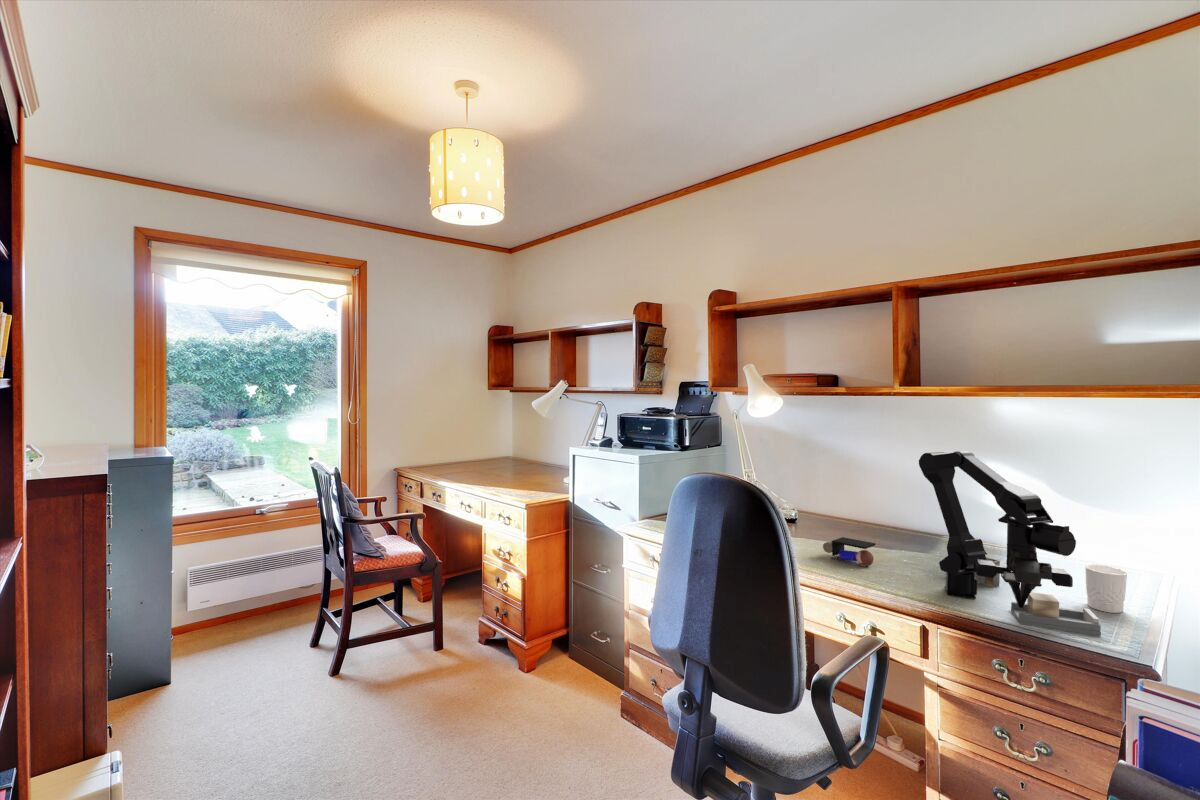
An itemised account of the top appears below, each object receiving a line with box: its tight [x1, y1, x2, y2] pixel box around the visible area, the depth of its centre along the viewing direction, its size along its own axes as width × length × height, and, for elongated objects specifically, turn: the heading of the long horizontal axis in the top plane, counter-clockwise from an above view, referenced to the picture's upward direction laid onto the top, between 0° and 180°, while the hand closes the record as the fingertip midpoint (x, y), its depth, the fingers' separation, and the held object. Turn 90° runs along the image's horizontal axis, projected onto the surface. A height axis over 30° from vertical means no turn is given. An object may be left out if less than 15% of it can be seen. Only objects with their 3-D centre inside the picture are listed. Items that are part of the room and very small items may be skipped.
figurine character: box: [822, 536, 876, 567], centre depth 180 cm, size 7×8×15 cm
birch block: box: [1026, 591, 1060, 618], centre depth 134 cm, size 5×5×5 cm
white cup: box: [1085, 563, 1128, 614], centre depth 142 cm, size 8×8×10 cm
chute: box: [1010, 600, 1102, 637], centre depth 134 cm, size 15×9×3 cm, turn 65°
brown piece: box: [974, 557, 1001, 588], centre depth 162 cm, size 11×3×10 cm, turn 26°
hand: (1020, 607), depth 136 cm, fingers closed
